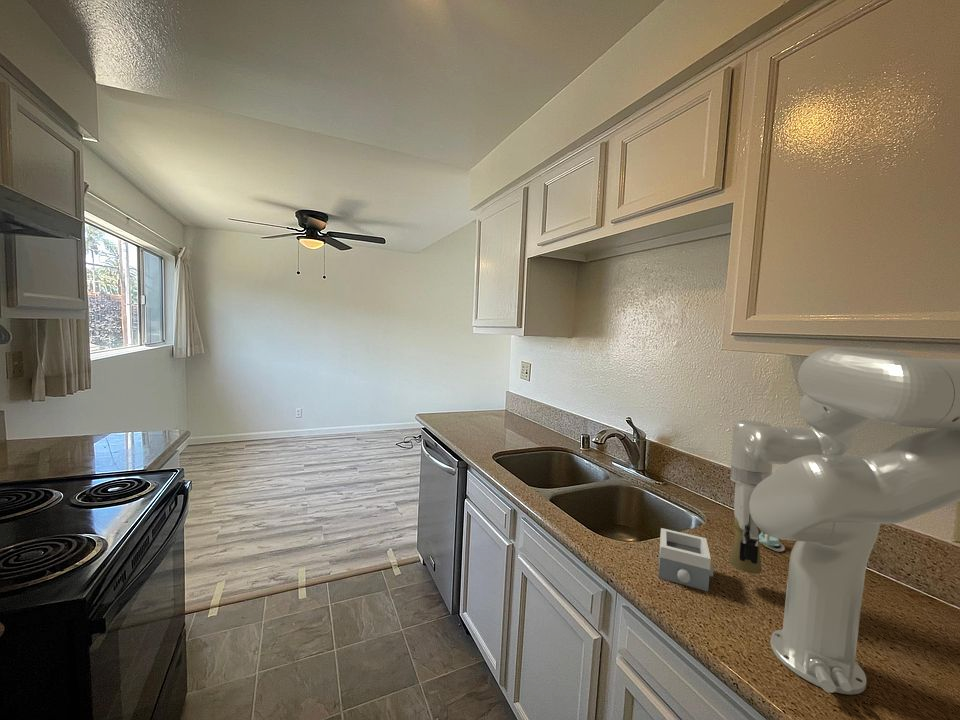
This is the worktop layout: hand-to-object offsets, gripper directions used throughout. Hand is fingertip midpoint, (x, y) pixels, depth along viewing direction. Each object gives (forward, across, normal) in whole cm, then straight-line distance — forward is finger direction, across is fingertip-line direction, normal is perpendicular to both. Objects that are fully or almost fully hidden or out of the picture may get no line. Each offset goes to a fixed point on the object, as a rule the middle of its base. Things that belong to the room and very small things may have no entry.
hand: (746, 556), depth 87 cm
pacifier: (+7, +26, -10) cm, 29 cm away
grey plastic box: (+7, 0, +13) cm, 15 cm away
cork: (+2, 0, 0) cm, 2 cm away
